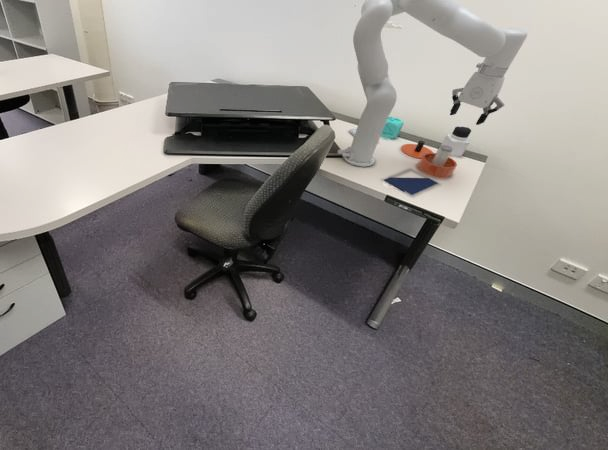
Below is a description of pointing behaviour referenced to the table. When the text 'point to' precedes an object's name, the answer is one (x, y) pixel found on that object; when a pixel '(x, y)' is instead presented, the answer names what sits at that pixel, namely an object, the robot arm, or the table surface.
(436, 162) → the salt shaker
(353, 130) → the hard drive
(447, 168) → the pot
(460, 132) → the medicine bottle
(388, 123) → the decorative dice
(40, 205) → the table surface
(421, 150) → the pot lid
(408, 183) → the towel
